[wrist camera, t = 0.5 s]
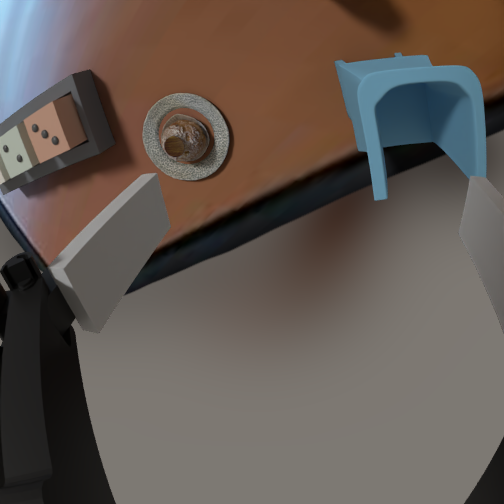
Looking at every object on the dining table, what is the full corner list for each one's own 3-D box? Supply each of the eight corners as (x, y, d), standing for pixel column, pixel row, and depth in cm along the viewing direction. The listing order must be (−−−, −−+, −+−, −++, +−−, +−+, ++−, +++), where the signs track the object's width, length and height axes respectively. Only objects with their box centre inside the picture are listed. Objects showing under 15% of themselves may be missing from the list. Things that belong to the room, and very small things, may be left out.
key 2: (12, 131, 39) (-6, 141, 35) (34, 116, 37) (15, 125, 33) (26, 168, 43) (9, 179, 39) (49, 156, 40) (31, 167, 37)
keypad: (-5, 132, 43) (-20, 140, 40) (89, 69, 35) (71, 74, 32) (16, 185, 50) (3, 195, 47) (115, 143, 41) (99, 153, 38)
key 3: (41, 111, 36) (22, 120, 33) (71, 93, 34) (51, 101, 31) (57, 152, 40) (39, 164, 37) (88, 139, 38) (69, 149, 34)
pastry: (194, 193, 45) (182, 209, 41) (131, 139, 41) (114, 150, 38) (250, 134, 38) (242, 145, 34) (179, 73, 35) (163, 78, 31)
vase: (349, 125, 34) (374, 202, 19) (334, 61, 30) (350, 74, 15) (413, 117, 32) (486, 188, 16) (400, 52, 28) (479, 64, 12)
